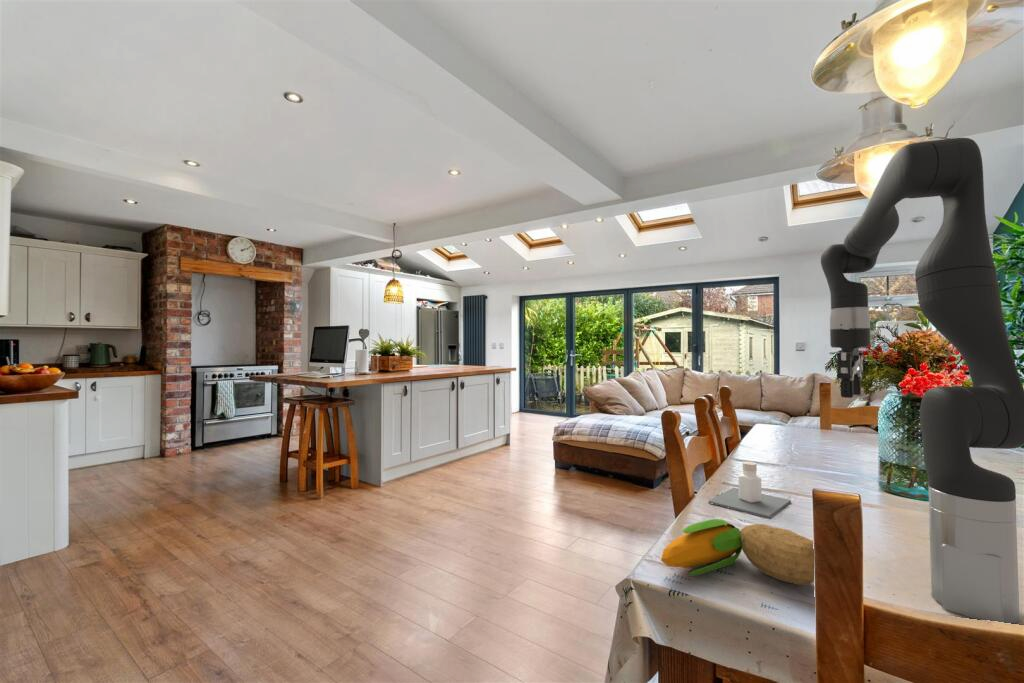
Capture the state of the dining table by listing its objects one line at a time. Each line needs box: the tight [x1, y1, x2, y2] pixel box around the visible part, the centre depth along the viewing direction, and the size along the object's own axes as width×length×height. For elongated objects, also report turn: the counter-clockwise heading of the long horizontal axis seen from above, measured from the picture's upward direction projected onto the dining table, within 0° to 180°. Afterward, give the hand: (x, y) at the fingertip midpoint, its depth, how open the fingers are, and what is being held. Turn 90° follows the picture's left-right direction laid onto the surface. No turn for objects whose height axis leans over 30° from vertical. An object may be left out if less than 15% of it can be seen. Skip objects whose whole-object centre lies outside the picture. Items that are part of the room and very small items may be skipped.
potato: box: [740, 523, 814, 586], centre depth 75 cm, size 10×14×8 cm
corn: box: [660, 519, 743, 577], centre depth 79 cm, size 7×8×20 cm
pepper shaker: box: [737, 461, 762, 503], centre depth 112 cm, size 4×4×10 cm
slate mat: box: [708, 487, 792, 519], centre depth 112 cm, size 16×14×1 cm
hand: (851, 396), depth 104 cm, fingers open, 8 cm apart
